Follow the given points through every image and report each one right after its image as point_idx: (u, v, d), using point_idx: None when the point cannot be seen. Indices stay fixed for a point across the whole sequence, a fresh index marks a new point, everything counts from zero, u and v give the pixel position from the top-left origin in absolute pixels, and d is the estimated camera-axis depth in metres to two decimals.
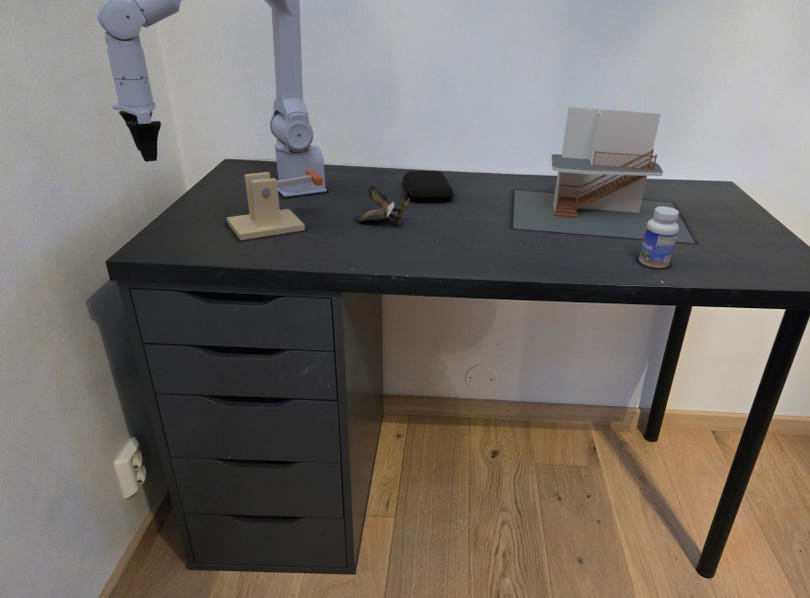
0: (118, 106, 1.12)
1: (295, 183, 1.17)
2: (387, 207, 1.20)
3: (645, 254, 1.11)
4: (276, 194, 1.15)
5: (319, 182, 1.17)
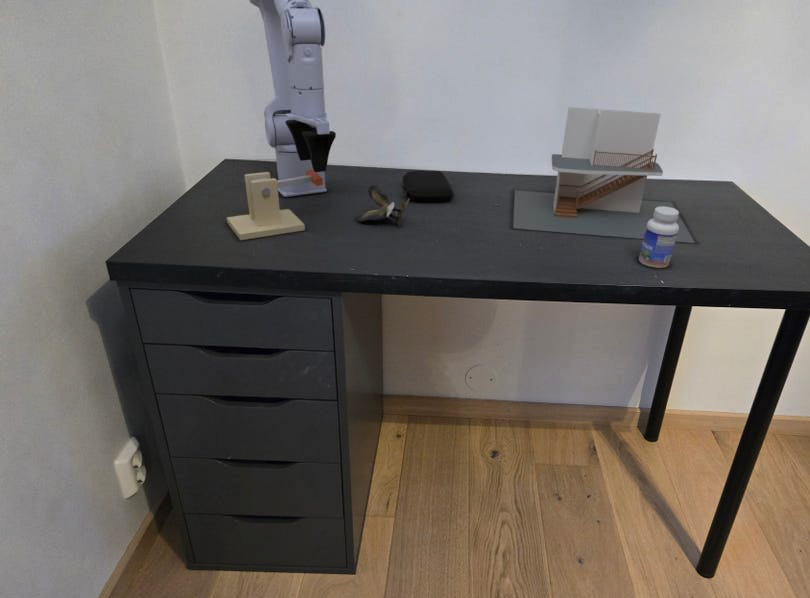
0: (293, 116, 1.11)
1: (295, 183, 1.17)
2: (387, 207, 1.20)
3: (645, 254, 1.11)
4: (276, 194, 1.15)
5: (319, 182, 1.17)
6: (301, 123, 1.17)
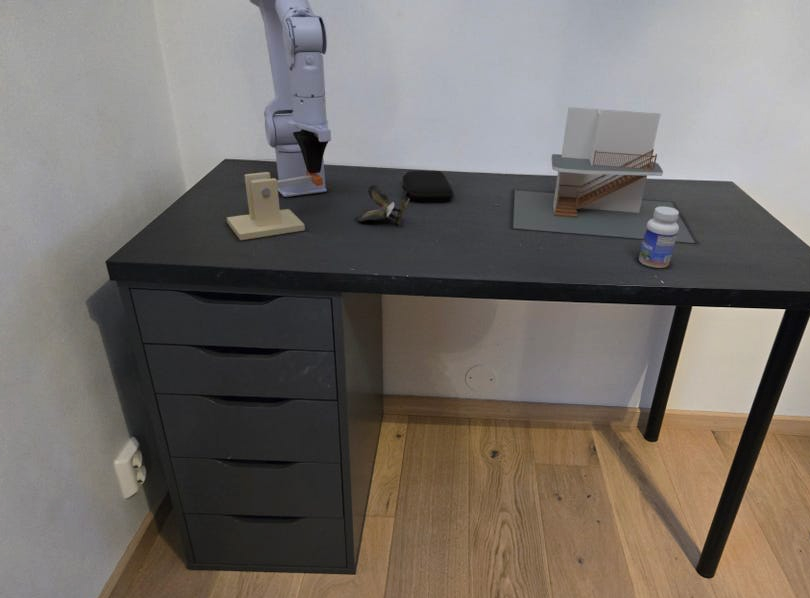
0: (295, 123, 1.12)
1: (295, 183, 1.17)
2: (387, 207, 1.20)
3: (645, 254, 1.11)
4: (276, 194, 1.15)
5: (319, 182, 1.17)
6: None
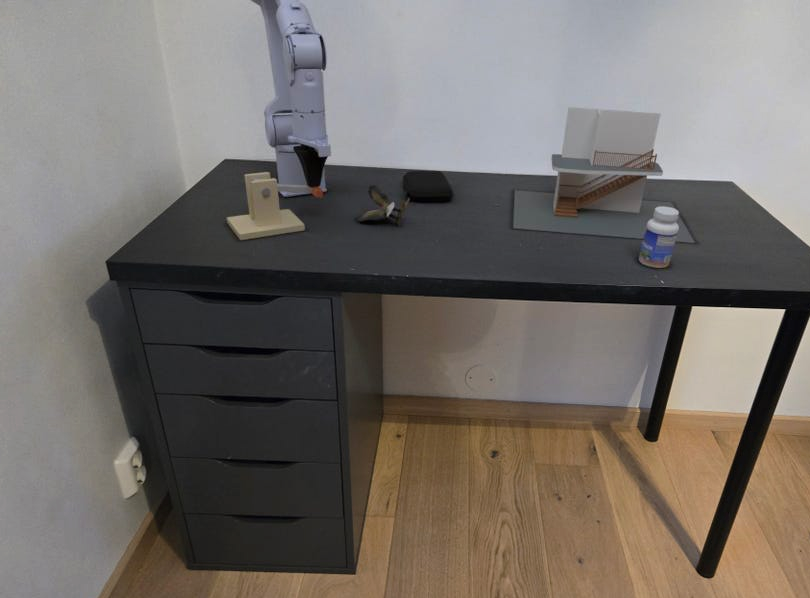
0: (295, 138, 1.13)
1: (295, 190, 1.18)
2: (387, 207, 1.20)
3: (645, 254, 1.11)
4: (276, 194, 1.15)
5: (319, 194, 1.18)
6: None
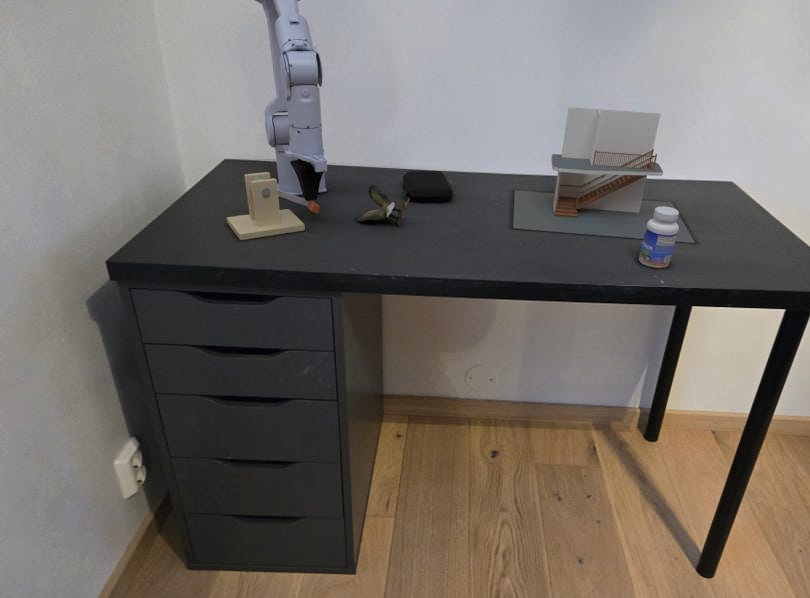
0: (292, 153, 1.14)
1: (292, 200, 1.19)
2: (387, 207, 1.20)
3: (645, 254, 1.11)
4: (276, 194, 1.15)
5: (315, 209, 1.20)
6: None
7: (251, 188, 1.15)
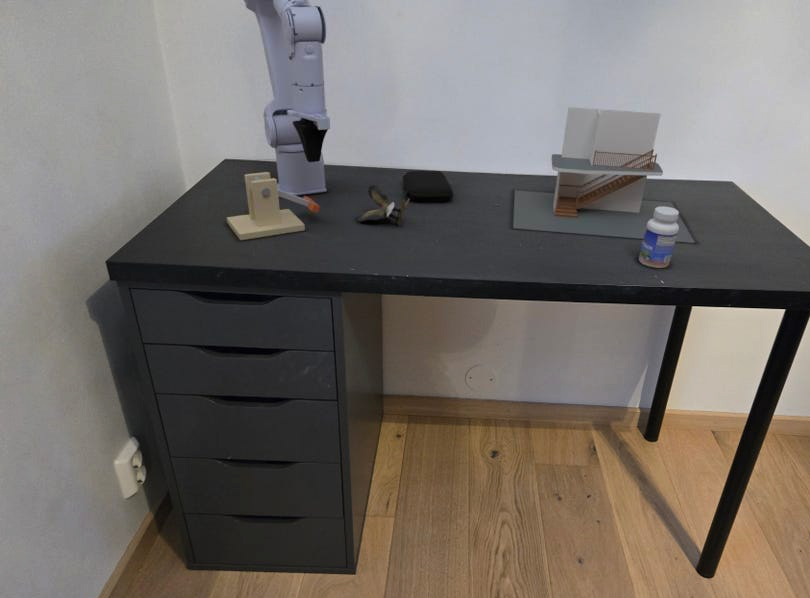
0: (294, 112, 1.13)
1: (292, 200, 1.19)
2: (387, 207, 1.20)
3: (645, 254, 1.11)
4: (276, 194, 1.15)
5: (315, 209, 1.20)
6: None
7: (251, 188, 1.15)
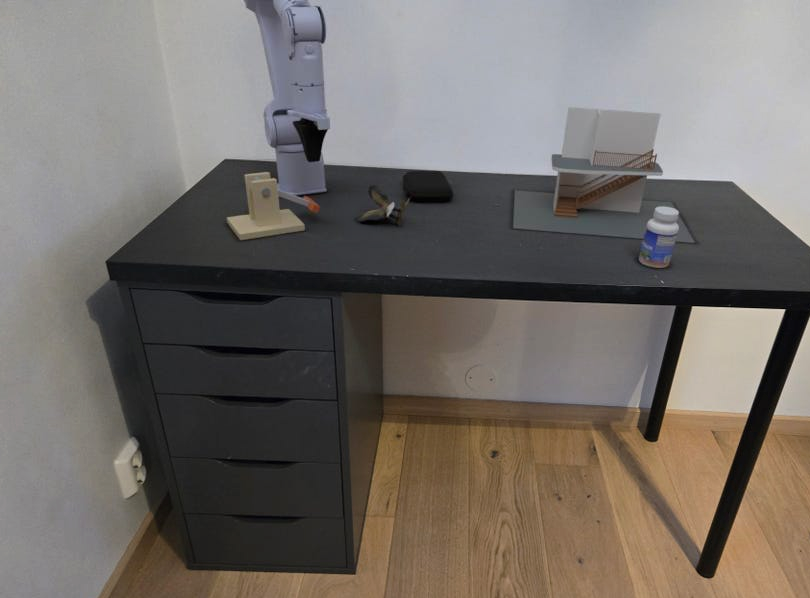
0: (294, 112, 1.13)
1: (292, 200, 1.19)
2: (387, 207, 1.20)
3: (645, 254, 1.11)
4: (276, 194, 1.15)
5: (315, 209, 1.20)
6: None
7: (251, 188, 1.15)
